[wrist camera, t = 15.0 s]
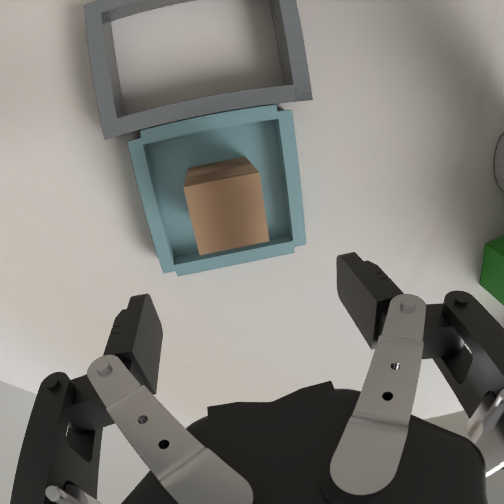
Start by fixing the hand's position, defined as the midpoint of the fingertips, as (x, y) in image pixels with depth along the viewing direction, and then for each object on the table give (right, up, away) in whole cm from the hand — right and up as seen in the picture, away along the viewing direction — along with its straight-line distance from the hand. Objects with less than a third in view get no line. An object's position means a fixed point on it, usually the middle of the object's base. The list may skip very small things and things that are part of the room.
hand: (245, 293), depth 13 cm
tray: (-3, +7, +15) cm, 17 cm away
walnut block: (-2, +7, +14) cm, 16 cm away
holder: (-4, +19, +9) cm, 21 cm away
